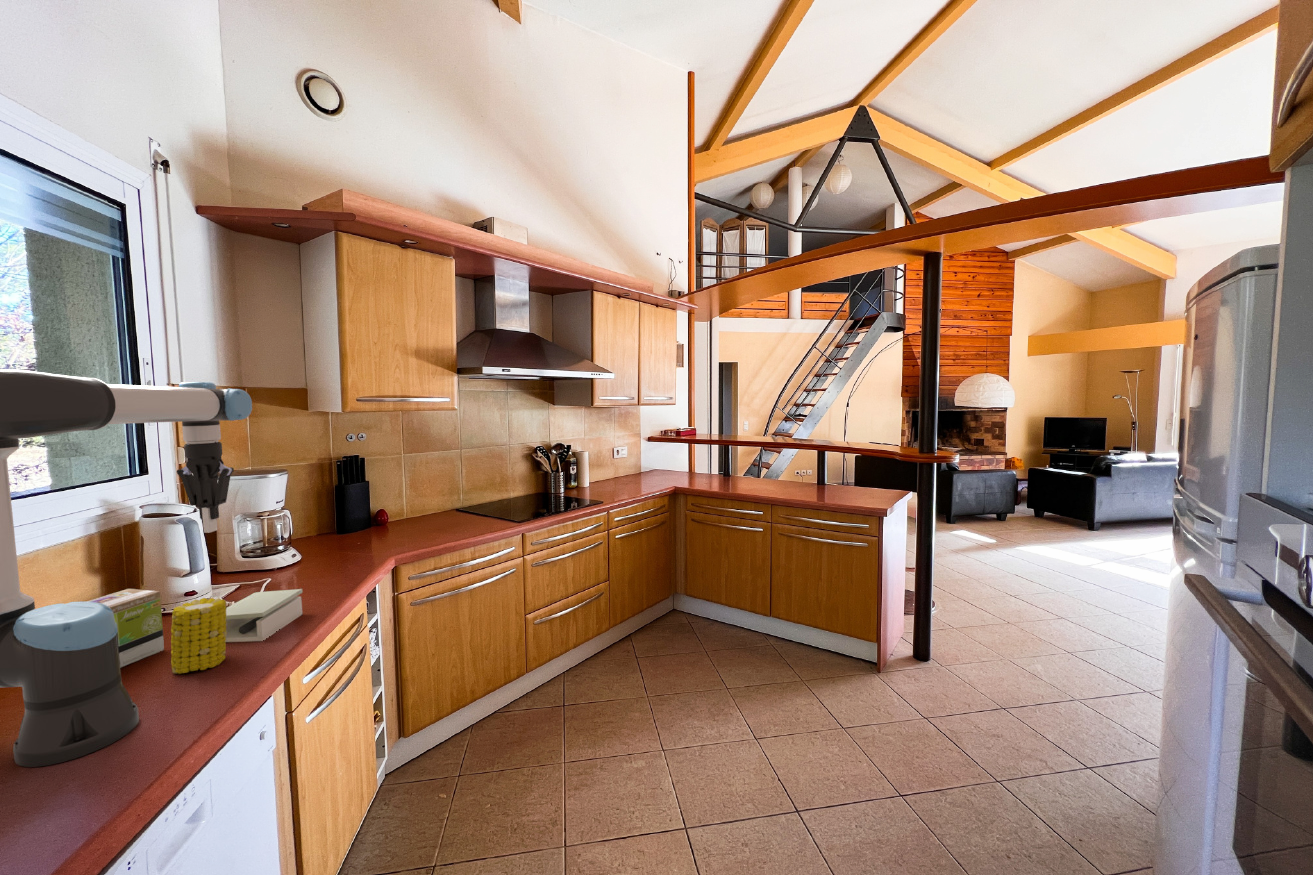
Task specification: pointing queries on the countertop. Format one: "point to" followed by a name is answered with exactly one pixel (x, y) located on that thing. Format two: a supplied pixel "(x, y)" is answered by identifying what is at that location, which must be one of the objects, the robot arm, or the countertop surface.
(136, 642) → the tea box
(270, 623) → the cable duct
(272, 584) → the countertop surface
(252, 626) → the dark grey rod
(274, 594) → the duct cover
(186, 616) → the food
